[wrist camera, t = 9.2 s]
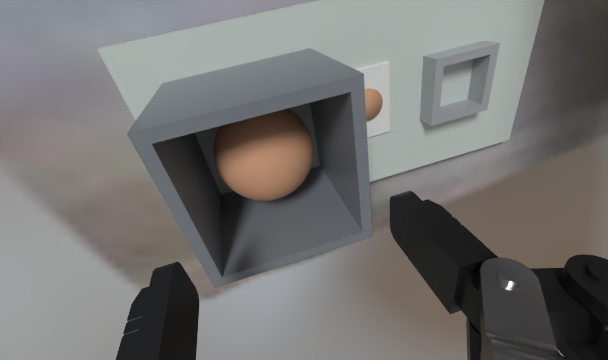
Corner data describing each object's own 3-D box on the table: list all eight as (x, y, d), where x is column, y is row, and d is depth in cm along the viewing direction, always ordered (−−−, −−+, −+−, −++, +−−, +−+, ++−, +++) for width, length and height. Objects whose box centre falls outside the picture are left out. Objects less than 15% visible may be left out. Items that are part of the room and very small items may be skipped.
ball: (241, 71, 18) (249, 97, 13) (316, 118, 20) (347, 154, 16) (198, 149, 20) (191, 199, 15) (272, 182, 22) (288, 233, 17)
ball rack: (197, 226, 24) (187, 326, 16) (103, 46, 16) (5, 82, 9) (500, 135, 27) (606, 185, 20) (543, -50, 19) (743, -82, 12)
